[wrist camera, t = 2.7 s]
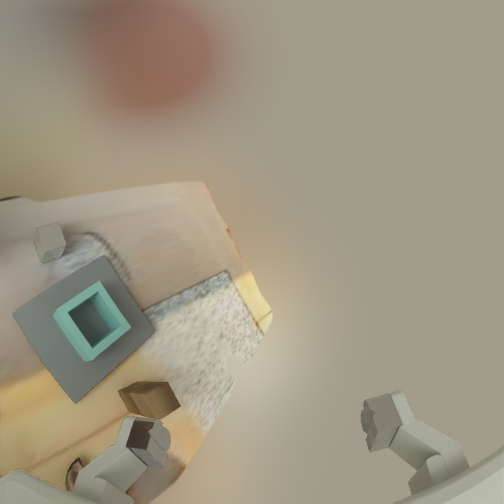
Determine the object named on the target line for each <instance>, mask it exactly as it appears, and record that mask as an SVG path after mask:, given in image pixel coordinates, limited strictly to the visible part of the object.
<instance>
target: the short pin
mask: <svg viewBox="0 0 504 504" xmlns="http://www.w3.org/2000/svg"><path fill="white" fill-rule="evenodd" d="M34 244H35V248H36V251H37V254H38V257H39V260H40V263H41V265H42V264H45V263H47V262H50V261H53V260H56V259H58V258H61V256H62V254H63V252H64V249H65V247H66V245H67V244H66V241H65V238H64V236H63V233H62V230H61V227H60V224H59V222H56V223H53V224H49V225H46V226H42V227H39V228H37V231H36V236H35V240H34Z"/></svg>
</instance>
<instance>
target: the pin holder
mask: <svg viewBox="0 0 504 504" xmlns="http://www.w3.org/2000/svg"><path fill="white" fill-rule="evenodd" d="M13 316H14V318H15V320H16V322H17V323H18V325H19V327H20V328H21V330H22V332H23V333H24V335H25V337H26V338H27V340H28V341H29V343H30V344H31V346H32V348H33V349H34V351H35V352H36V354H37V355H38V356H39V358H40V359H41V361H42V362H43V364H44V365H45V366H46V368H47V369H48V370H49V372H50V373H51V374H52V376H53V377H54V378H55V380H56V381H57V382H58V384H59V385H60V386H61V387H62V389H63V390H64V391H65V392H66V393H67V395H68V396H69V397H70V398H71V399H72V401H73V402H74V403H77V402H78V401H79V400H80V399H81V398H82V397H83V396H84V395H85V394H87V393H88V392H89V391H90V390H91V389H92V388H93V387H94V386H95V385H96V384H98V383H99V382H100V381H101V380H102V379H103V378H104V377H105V376H106V375H107V374H109V373H110V372H111V371H112V370H113V369H114V368H115V367H116V366H117V365H118V364H120V363H121V362H122V361H123V360H124V359H125V358H126V357H127V356H128V355H129V354H131V353H132V352H133V351H134V350H135V349H136V348H137V347H138V346H139V345H141V344H142V343H143V342H144V341H145V340H146V339H147V338H148V337H149V336H151V335H152V334H153V333H154V332H155V331H156V330H155V329H154V327H153V326H152V325H151V323H150V322H149V321H148V319H147V318H146V317H145V315H144V314H143V312H142V311H141V310H140V308H139V307H138V305H137V304H136V302H135V301H134V300H133V298H132V297H131V295H130V294H129V292H128V291H127V289H126V288H125V286H124V285H123V283H122V282H121V280H120V279H119V277H118V275H117V274H116V272H115V271H114V269H113V268H112V266H111V264H110V263H109V261H108V259H107V258H106V256H105V255H103V256H102V257H100V258H98V259H96V260H95V261H93V262H91V263H90V264H88V265H86V266H85V267H83V268H81V269H80V270H78V271H76V272H75V273H73V274H71V275H70V276H68V277H66V278H65V279H63V280H62V281H60V282H58V283H57V284H55V285H54V286H52V287H51V288H49V289H48V290H46V291H44V292H43V293H41V294H40V295H38V296H37V297H35V298H34V299H32V300H31V301H29V302H28V303H26V304H25V305H23V306H22V307H20V308H19V309H18V310H16V311H15V312H13Z"/></svg>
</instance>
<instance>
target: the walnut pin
mask: <svg viewBox="0 0 504 504" xmlns="http://www.w3.org/2000/svg"><path fill="white" fill-rule="evenodd" d="M118 392H119V394H120V396H121V398H122V399H123V401H124V403H125V405H126V407H127V409H128V410H129V412H131V413H135V414H138V415H142V416H146V417H150V418H154V419H162V418H163V417H165V416H167V415H168V414H170V413H171V412H173V411H174V410H176V409H178V408H179V407H181V406H180V404H179V402H178V400H177V398H176V397H175V395H174V393H173V391H172V389H171V387H170V385H169V383H168V382H136V383H134V384H132V385H130V386H128V387H126V388H124V389H122V390H120V391H118Z"/></svg>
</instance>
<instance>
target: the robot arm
mask: <svg viewBox="0 0 504 504" xmlns="http://www.w3.org/2000/svg"><path fill="white" fill-rule="evenodd" d="M363 407H364V409H363V410H362V412H361V424H362V428H363V431H364V432H366V433H367V434H368V435H367V438H366V442H367V445H368V449H369V452H373V451H377V450H380V449H384V448H388V447H389V448H390V449H391V450H392V451H393V452H394V453H396V454H397V455H398V456H399V457H401V458H402V459H403V460H404V461H406V462H407V463H408V464H409V465H411V466H412V467H413V468H414V469H416V470H417V472H416V473H415V474H414V475H413V476H412V477H411V479H410V480H409V481H408V484H409V488H410V491H411V496H409V497H407V498H404V499H401V500H398V501H395V502H392V503H389V504H504V446H503V447H501V448H500V449H498V450H497V451H495V452H494V453H492V454H491V455H489V456H488V457H486V458H485V459H483V460H481V461H480V462H478V463H477V464H475V465H473V466H472V467H469V465H468V462H467V460H466V458H465V455H464V453H463V451H462V449H461V447H460V444H459V443H458V442H456V441H454V440H452V439H451V438H449V437H447V436H445V435H444V434H442V433H440V432H439V431H437V430H435V429H433V428H432V427H430V426H428V425H427V424H425V423H423V422H422V421H420V420H416V421H415V419H414V416H413V414H412V412H411V410H410V408H409V406H408V403H407V401H406V399H405V397H404V395H403V393H402V391H400V390H398V391H395V392H392V393H389V394H384V395H381V396H377V397H374V398H370V399H367V400H365V401H364V403H363ZM162 424H163V423H162V422H161V421H160V419H150V418H139V417H130V416H127V417H126V418H125V419H124V421H123V424H122V426H121V429H120V432H119V435H118V438H117V440H116V443H115V445H111V446H110V447H109V448H108V449H106V450H105V451H104V452H103V453H101V454H100V455H99V456H98V457H96V458H95V459H94V460H93V461H91V462H90V463H89V464H87V465H86V466H85V467H84V468H82V469H81V470H80V471H79V473H78V476H77V479H76V482H75V484H74V487H73V490H72V493H71V492H68V491H66V490H64V489H62V488H59V487H57V486H55V485H53V484H51V483H49V482H47V481H45V480H43V479H41V478H39V477H37V476H35V475H33V474H31V473H29V472H28V471H26V470H24V469H16V470H13V471H11V472H10V473H8V474H6V475H4V476H3V477H1V478H0V504H133V503H134V500H133V498H132V497H130V496H128V495H127V494H125V492H126V490H127V489H128V488H129V487H130V486H131V485H132V484H133V483H134V482H135V481H136V480H137V479H138V478H139V477H140V475H141V474H142V473H143V472H144V471H145V470H146V469H147V468H148V466H150V467H159V468H165V467H166V462H167V457H168V455H167V454H166V452H165V451H166V450H167V449H169V448H170V443H171V440H170V434H169V431H168V430H167V429H166V428H164V427H163V426H162Z"/></svg>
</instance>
